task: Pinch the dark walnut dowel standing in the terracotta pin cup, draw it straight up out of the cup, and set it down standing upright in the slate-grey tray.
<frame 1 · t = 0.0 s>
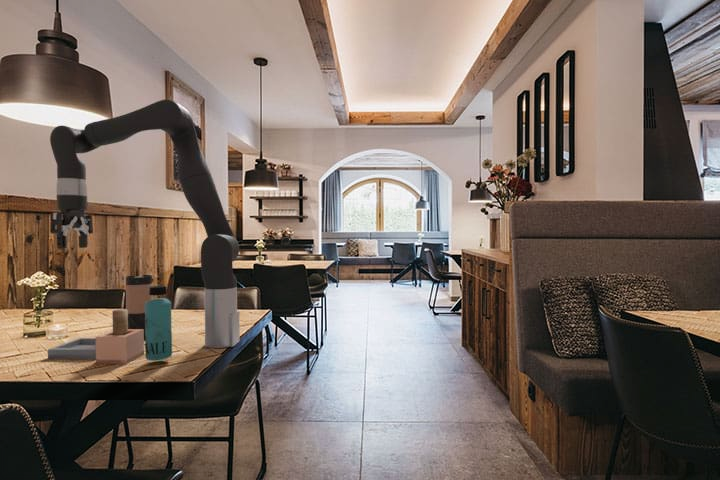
hand: (73, 248, 121), 29 cm above the table, fingers open, 8 cm apart
beverage bottle: (159, 363, 104), on the table
pin cup: (120, 358, 107), on the table
walnut dowel: (120, 355, 107), point 1 cm above the table, touching pin cup
slate tray: (89, 352, 114), on the table
travel mug: (140, 338, 128), on the table
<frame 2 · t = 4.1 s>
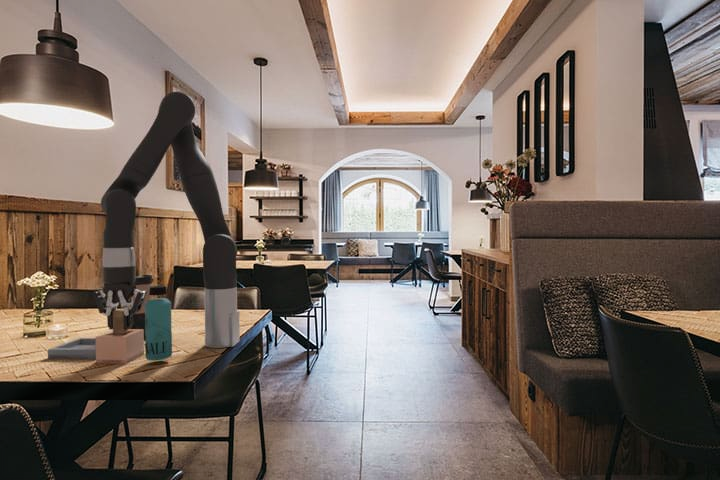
hand: (120, 328, 107), 8 cm above the table, fingers closed on walnut dowel, 3 cm apart
walnut dowel: (120, 355, 107), point 1 cm above the table, touching gripper, pin cup
everything else where it was.
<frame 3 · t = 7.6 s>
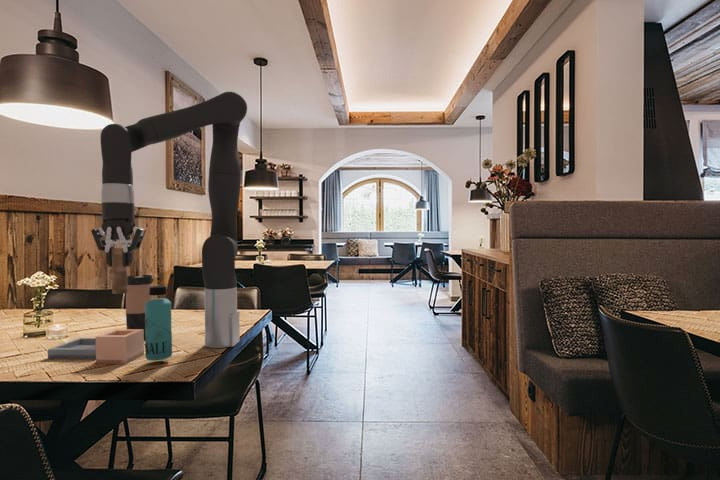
hand: (119, 266, 107), 25 cm above the table, fingers closed on walnut dowel, 3 cm apart
walnut dowel: (120, 292, 107), point 18 cm above the table, touching gripper
everything else where it was.
when the fingers open (9 cm above the table, at t = 11.2 s): walnut dowel stays where it is, resting on slate tray.
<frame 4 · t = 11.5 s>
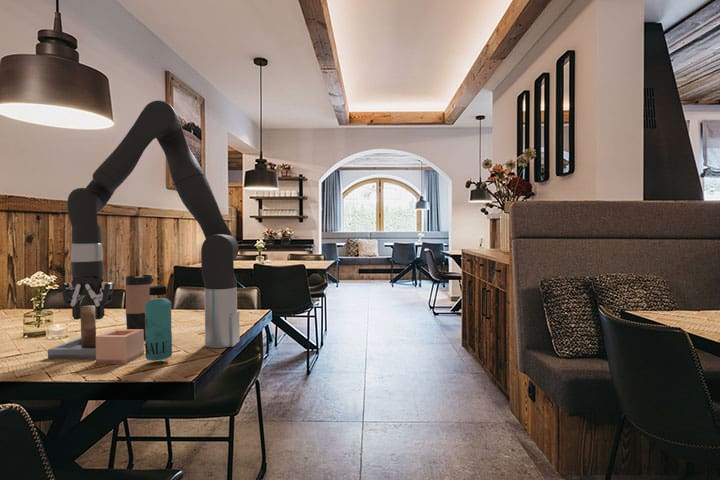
hand: (88, 318, 113), 10 cm above the table, fingers open, 5 cm apart
walnut dowel: (88, 348, 114), point 1 cm above the table, touching slate tray
everything else where it was.
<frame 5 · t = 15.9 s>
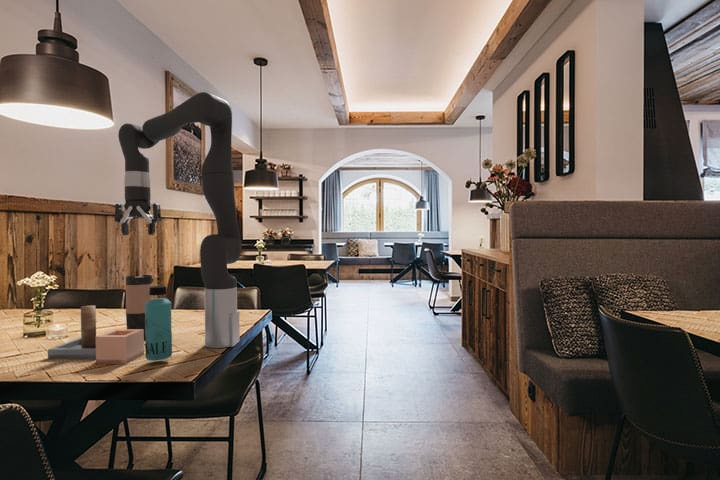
hand: (138, 235, 133), 33 cm above the table, fingers open, 8 cm apart
nothing on the table moved.
at the end: walnut dowel inside the target area on the slate tray (0.0 cm from its centre), point 1.0 cm above the slate tray's base; walnut dowel tilted 0°; the gripper is holding nothing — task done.
